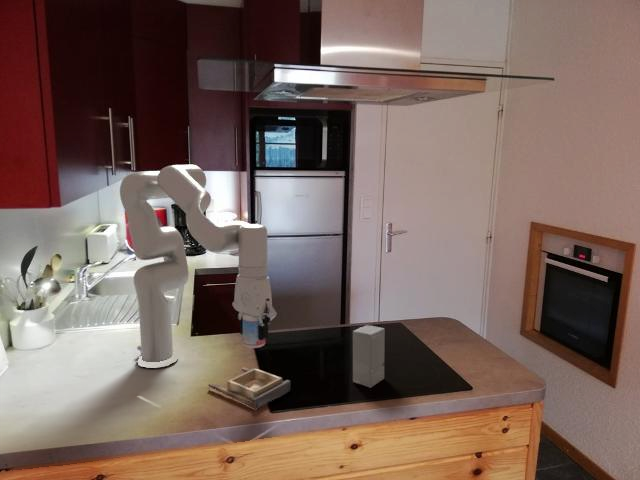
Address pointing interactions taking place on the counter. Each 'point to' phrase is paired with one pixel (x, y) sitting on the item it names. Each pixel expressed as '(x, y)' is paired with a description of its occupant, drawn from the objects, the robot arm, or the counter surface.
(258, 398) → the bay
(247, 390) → the crate
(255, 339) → the pill bottle
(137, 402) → the counter surface
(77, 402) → the counter surface
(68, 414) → the counter surface
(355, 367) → the skincare box
